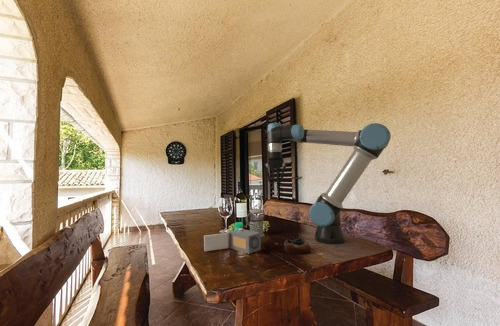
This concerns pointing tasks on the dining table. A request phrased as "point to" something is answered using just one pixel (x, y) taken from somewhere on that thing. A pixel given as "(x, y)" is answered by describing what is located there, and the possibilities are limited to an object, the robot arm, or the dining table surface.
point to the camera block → (245, 240)
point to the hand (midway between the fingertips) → (275, 195)
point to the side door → (216, 241)
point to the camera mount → (238, 225)
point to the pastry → (296, 246)
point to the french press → (256, 221)
